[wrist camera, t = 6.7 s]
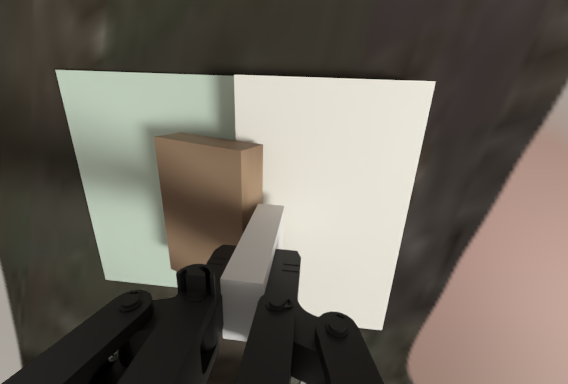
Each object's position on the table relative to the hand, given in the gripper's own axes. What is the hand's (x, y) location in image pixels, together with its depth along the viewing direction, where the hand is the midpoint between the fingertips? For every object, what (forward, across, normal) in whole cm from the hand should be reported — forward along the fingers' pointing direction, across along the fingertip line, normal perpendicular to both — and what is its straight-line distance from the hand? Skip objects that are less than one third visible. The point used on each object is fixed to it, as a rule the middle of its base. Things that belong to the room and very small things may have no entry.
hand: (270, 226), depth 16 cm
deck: (+4, -3, 0) cm, 5 cm away
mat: (+4, +8, 0) cm, 9 cm away
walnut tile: (+2, +3, 0) cm, 4 cm away
